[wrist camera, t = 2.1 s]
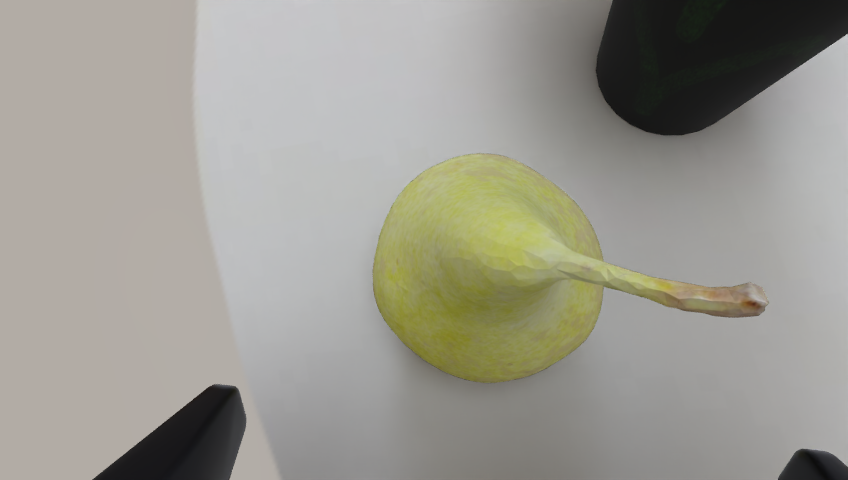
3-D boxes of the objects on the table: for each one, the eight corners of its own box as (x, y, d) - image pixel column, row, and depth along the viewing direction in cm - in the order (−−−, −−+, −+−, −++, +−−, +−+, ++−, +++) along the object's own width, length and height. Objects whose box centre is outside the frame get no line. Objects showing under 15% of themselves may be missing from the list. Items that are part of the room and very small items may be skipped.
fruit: (434, 170, 21) (396, -68, 9) (619, 246, 19) (854, 89, 8) (360, 327, 20) (206, 293, 8) (550, 416, 18) (702, 535, 7)
